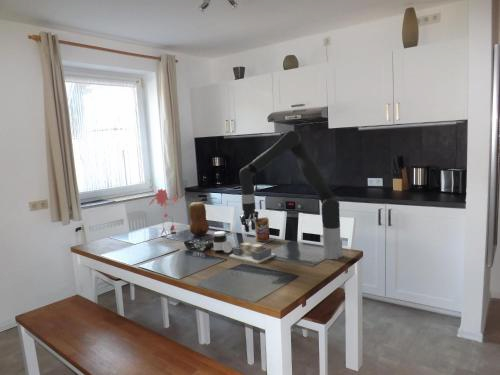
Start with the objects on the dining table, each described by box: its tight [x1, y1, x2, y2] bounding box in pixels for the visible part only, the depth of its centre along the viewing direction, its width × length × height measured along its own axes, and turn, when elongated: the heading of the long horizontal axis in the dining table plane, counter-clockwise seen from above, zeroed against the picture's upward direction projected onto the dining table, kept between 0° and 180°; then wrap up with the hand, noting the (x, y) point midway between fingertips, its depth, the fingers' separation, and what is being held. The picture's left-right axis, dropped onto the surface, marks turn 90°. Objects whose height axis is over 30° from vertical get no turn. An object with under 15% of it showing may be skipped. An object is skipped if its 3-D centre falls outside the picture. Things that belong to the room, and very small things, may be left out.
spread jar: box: [212, 230, 233, 254], centre depth 219 cm, size 12×11×12 cm
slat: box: [239, 241, 264, 256], centre depth 206 cm, size 14×4×6 cm, turn 52°
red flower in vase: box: [148, 188, 182, 236], centre depth 270 cm, size 15×26×35 cm, turn 147°
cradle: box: [228, 244, 276, 265], centre depth 207 cm, size 22×16×5 cm
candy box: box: [254, 216, 270, 242], centre depth 236 cm, size 9×4×15 cm, turn 98°
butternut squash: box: [188, 201, 210, 237], centre depth 259 cm, size 14×13×25 cm
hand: (250, 230), depth 205 cm, fingers open, 4 cm apart
